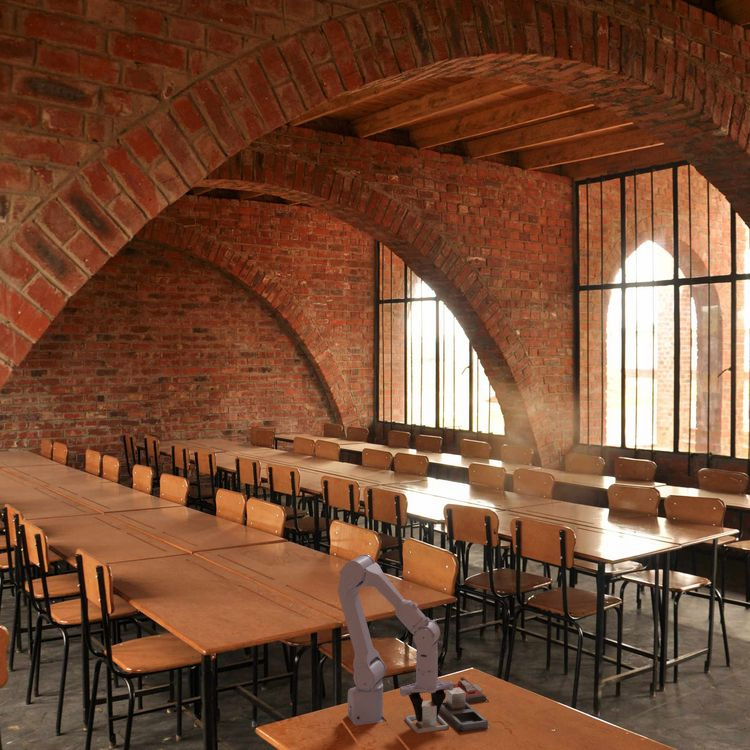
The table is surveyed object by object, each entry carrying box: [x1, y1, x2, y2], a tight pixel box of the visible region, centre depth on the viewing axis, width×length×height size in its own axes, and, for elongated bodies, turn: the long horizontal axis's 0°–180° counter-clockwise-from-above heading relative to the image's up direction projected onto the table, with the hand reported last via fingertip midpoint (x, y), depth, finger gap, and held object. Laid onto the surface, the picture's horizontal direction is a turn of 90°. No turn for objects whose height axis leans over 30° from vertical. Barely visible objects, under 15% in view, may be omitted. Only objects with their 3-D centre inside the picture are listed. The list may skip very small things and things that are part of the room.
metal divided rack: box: [438, 700, 490, 733], centre depth 225 cm, size 9×16×3 cm, turn 19°
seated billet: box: [445, 687, 466, 712], centre depth 229 cm, size 4×4×6 cm
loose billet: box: [416, 699, 438, 728], centre depth 222 cm, size 4×4×6 cm
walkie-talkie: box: [453, 676, 490, 704], centre depth 245 cm, size 9×4×20 cm
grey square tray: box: [404, 714, 450, 734], centre depth 222 cm, size 9×9×2 cm
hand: (426, 719), depth 222 cm, fingers closed on loose billet, 4 cm apart
